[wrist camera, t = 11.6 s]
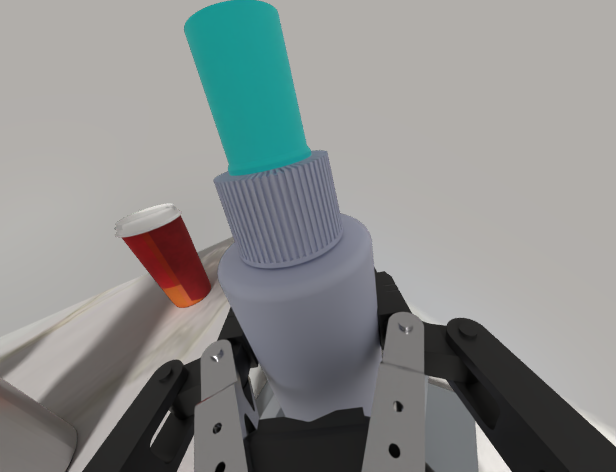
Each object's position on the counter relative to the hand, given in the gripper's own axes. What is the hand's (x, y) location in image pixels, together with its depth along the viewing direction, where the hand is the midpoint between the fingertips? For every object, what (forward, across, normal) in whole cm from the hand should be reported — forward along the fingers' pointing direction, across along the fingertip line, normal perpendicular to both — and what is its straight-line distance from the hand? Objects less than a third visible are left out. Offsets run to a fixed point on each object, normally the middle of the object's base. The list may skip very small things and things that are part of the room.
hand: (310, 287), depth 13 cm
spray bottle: (-2, 0, +11) cm, 11 cm away
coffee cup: (+19, +22, +13) cm, 32 cm away
